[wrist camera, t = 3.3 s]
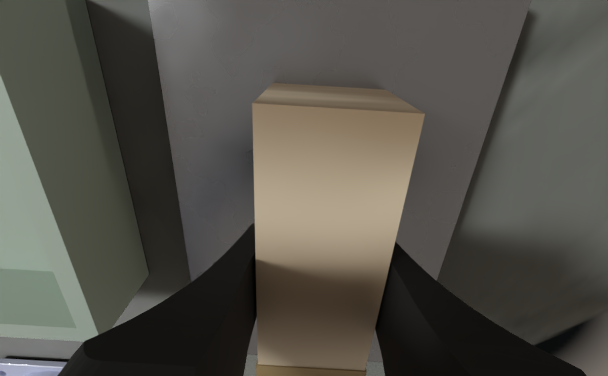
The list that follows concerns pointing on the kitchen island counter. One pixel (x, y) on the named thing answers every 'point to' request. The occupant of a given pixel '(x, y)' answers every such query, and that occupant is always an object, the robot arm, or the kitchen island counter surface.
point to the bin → (60, 180)
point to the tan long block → (326, 221)
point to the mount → (336, 73)
